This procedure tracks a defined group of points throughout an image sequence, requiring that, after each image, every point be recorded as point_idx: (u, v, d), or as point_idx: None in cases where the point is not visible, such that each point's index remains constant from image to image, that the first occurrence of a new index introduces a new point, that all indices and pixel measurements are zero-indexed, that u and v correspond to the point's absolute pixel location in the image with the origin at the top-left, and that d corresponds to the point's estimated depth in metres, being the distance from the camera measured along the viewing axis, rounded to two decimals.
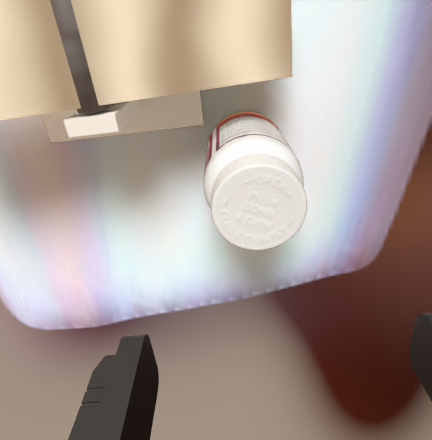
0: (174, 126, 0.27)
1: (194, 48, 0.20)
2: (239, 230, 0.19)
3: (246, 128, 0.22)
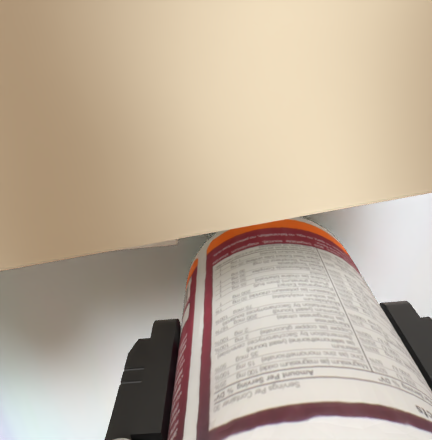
0: None
1: (99, 97, 0.04)
2: None
3: (296, 335, 0.07)
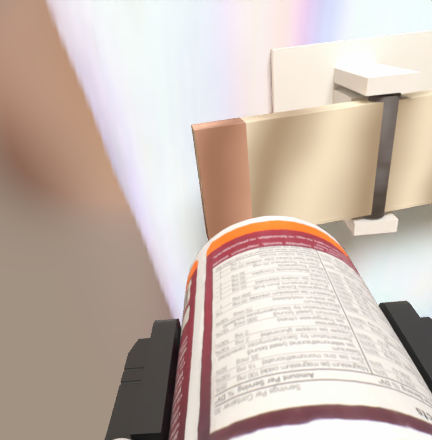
0: None
1: None
2: None
3: (296, 338, 0.07)
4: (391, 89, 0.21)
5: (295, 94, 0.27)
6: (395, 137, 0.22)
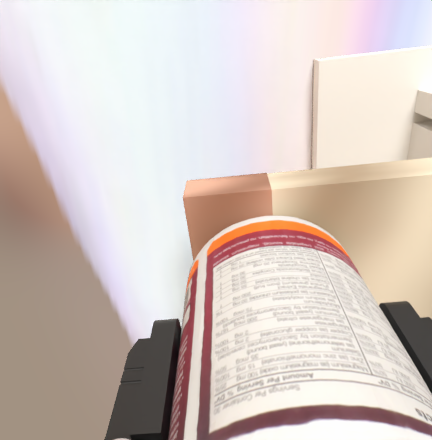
0: None
1: None
2: None
3: (296, 338, 0.07)
4: None
5: (351, 131, 0.17)
6: None
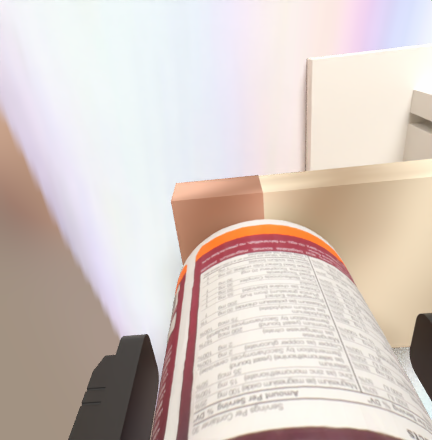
0: None
1: None
2: None
3: (281, 351, 0.07)
4: None
5: (346, 131, 0.17)
6: None
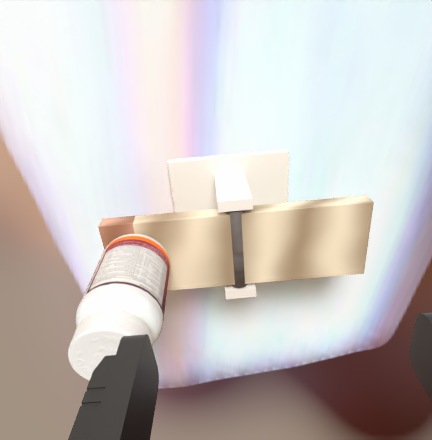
0: None
1: (306, 259, 0.33)
2: None
3: (116, 269, 0.26)
4: (234, 208, 0.30)
5: (187, 192, 0.36)
6: (243, 237, 0.32)
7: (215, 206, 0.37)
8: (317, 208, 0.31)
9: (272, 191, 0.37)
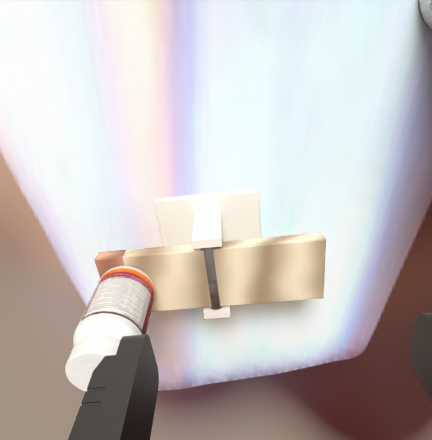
0: None
1: (271, 286, 0.38)
2: (86, 384, 0.29)
3: (105, 300, 0.32)
4: (206, 245, 0.36)
5: (172, 225, 0.42)
6: (215, 268, 0.37)
7: None
8: (277, 245, 0.36)
9: (246, 224, 0.42)
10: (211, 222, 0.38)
